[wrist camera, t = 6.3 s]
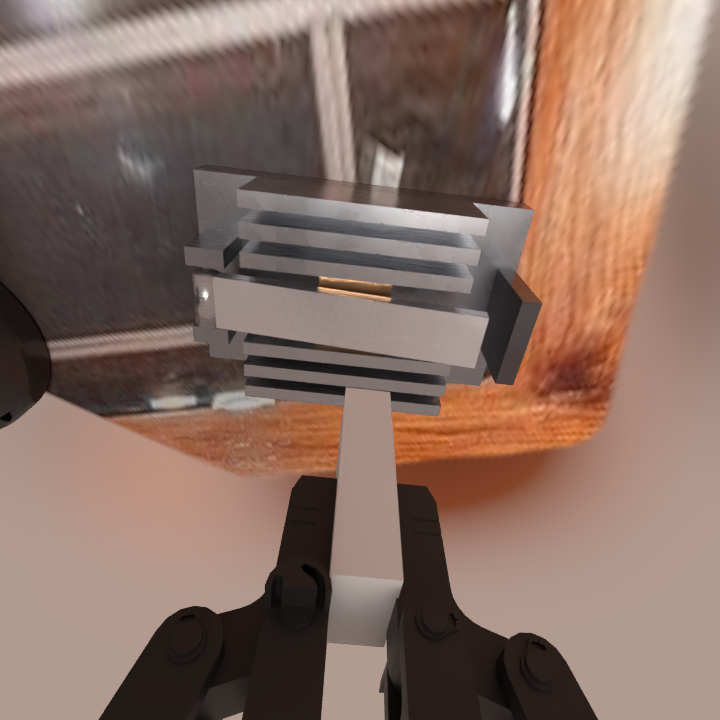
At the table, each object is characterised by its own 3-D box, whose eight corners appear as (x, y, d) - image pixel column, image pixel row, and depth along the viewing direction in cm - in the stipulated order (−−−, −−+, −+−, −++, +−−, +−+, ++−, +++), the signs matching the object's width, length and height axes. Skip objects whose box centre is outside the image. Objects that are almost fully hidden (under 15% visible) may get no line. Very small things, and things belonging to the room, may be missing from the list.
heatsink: (219, 342, 31) (181, 399, 25) (205, 164, 25) (151, 183, 19) (474, 370, 31) (497, 432, 25) (523, 203, 25) (569, 233, 19)
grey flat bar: (203, 316, 25) (192, 326, 23) (198, 266, 23) (186, 275, 22) (472, 358, 24) (475, 371, 22) (486, 309, 22) (489, 321, 21)
